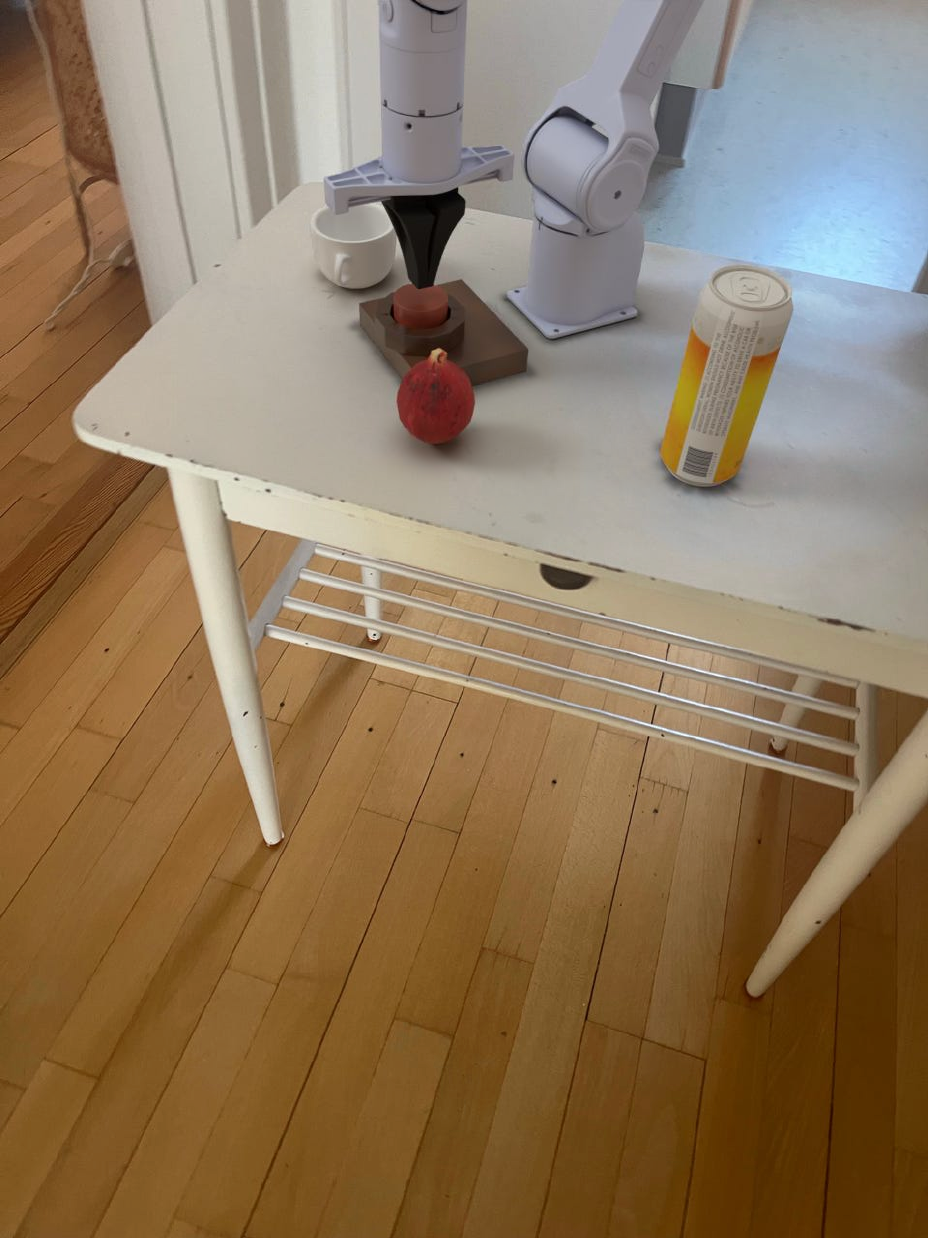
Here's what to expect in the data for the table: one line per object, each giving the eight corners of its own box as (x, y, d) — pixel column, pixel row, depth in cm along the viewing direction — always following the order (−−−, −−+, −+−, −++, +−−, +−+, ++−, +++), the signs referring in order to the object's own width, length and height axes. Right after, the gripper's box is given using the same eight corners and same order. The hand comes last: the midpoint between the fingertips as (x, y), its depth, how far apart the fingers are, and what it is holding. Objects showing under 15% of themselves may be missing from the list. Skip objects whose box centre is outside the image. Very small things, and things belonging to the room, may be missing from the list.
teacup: (326, 250, 91) (322, 195, 87) (405, 260, 91) (404, 205, 87) (297, 305, 85) (292, 248, 81) (381, 316, 84) (380, 259, 80)
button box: (460, 300, 87) (462, 259, 84) (526, 371, 80) (530, 329, 77) (352, 327, 83) (350, 285, 80) (411, 403, 76) (411, 360, 73)
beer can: (739, 447, 74) (798, 269, 63) (736, 498, 71) (798, 317, 59) (662, 434, 75) (706, 255, 64) (654, 483, 71) (700, 301, 60)
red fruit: (465, 470, 71) (470, 381, 65) (390, 460, 72) (388, 370, 66) (477, 423, 75) (483, 334, 69) (405, 413, 75) (405, 324, 69)
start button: (432, 296, 80) (433, 277, 79) (456, 323, 78) (457, 304, 76) (385, 308, 79) (384, 289, 77) (407, 335, 76) (407, 316, 75)
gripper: (486, 65, 70) (477, 240, 81) (302, 93, 66) (316, 276, 76) (534, 101, 66) (518, 281, 77) (341, 134, 62) (351, 321, 72)
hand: (420, 281), depth 76 cm, fingers closed
